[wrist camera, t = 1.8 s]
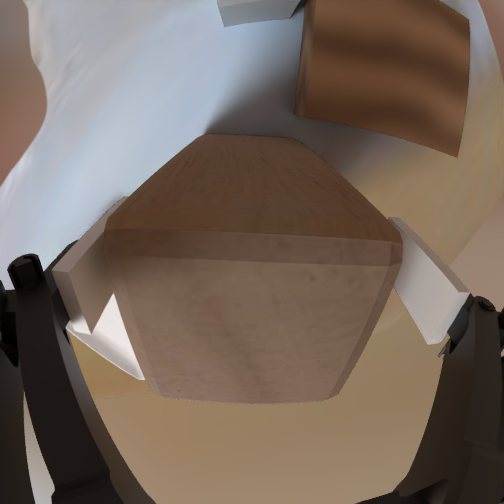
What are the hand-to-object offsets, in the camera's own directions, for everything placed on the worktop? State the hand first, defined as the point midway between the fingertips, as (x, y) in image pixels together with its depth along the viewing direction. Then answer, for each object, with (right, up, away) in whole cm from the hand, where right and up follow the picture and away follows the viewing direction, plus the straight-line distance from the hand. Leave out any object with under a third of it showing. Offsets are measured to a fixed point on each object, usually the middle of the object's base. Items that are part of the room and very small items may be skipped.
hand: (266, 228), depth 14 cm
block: (-1, +6, +13) cm, 14 cm away
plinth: (+12, +18, +6) cm, 22 cm away
